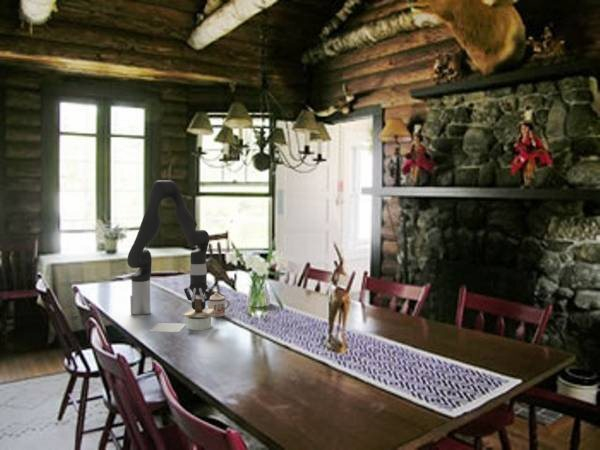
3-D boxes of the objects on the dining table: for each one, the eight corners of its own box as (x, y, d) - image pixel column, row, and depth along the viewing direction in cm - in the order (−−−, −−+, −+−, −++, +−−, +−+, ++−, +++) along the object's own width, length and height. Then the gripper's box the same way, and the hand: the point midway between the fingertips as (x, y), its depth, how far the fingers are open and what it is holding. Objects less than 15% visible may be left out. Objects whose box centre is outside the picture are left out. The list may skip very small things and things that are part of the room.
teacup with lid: (212, 318, 261) (211, 295, 260) (204, 314, 268) (204, 292, 267) (233, 314, 267) (233, 292, 266) (225, 311, 275) (225, 289, 274)
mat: (148, 332, 236) (148, 331, 235) (158, 323, 249) (158, 322, 249) (178, 333, 235) (178, 331, 235) (187, 324, 249) (187, 323, 249)
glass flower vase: (242, 305, 288) (242, 273, 286) (254, 300, 299) (254, 270, 298) (261, 308, 282) (261, 275, 281) (273, 303, 293) (274, 272, 292)
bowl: (184, 330, 238) (184, 319, 238) (190, 324, 249) (190, 313, 248) (207, 331, 237) (207, 319, 237) (213, 324, 248) (212, 313, 248)
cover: (182, 316, 237) (182, 301, 236) (189, 310, 249) (189, 296, 248) (208, 317, 236) (208, 302, 236) (214, 310, 248) (214, 296, 248)
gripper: (181, 274, 238) (181, 311, 239) (211, 274, 237) (211, 311, 238) (185, 271, 245) (186, 307, 247) (215, 271, 244) (215, 307, 246)
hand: (198, 309), depth 242 cm, fingers closed on cover, 3 cm apart
